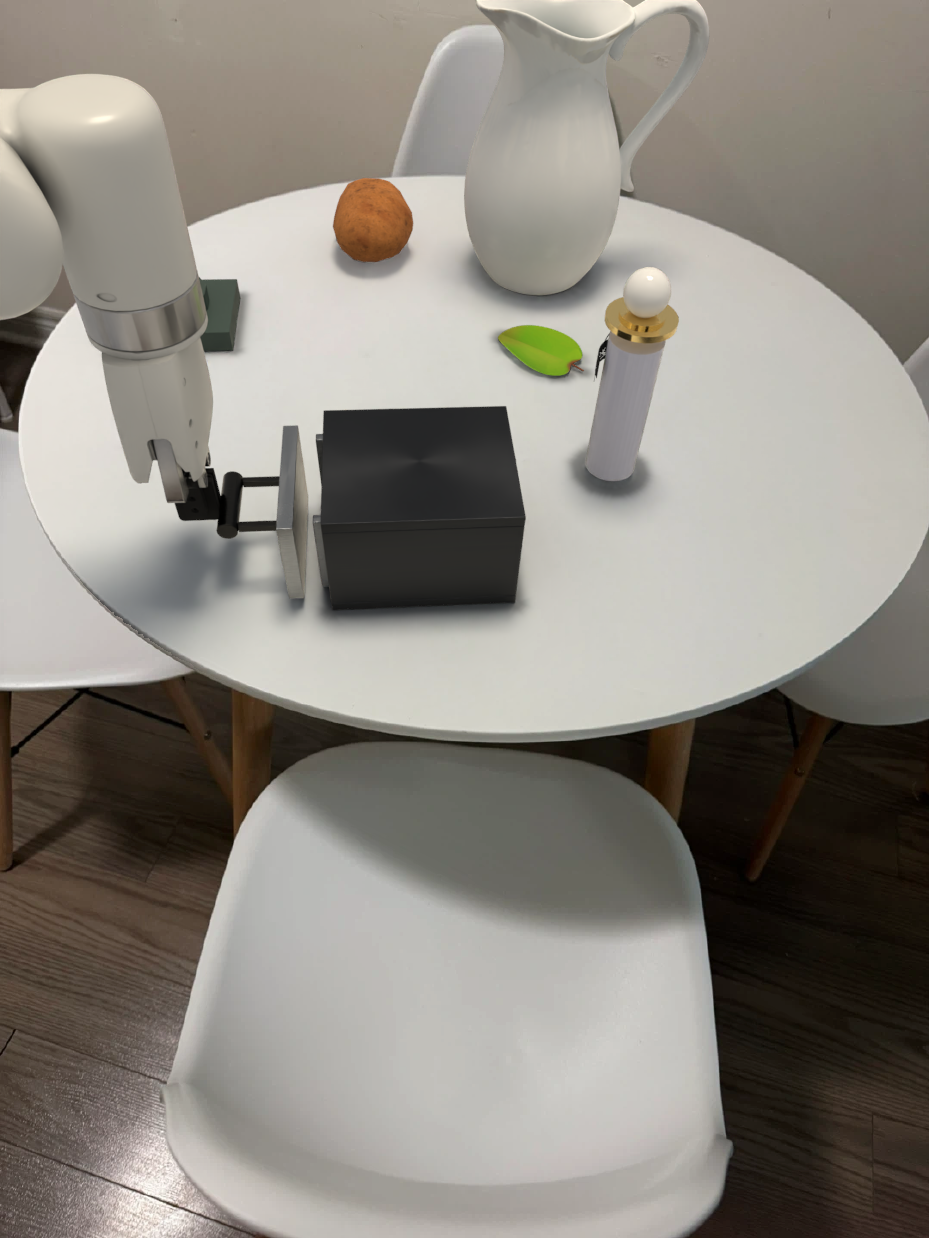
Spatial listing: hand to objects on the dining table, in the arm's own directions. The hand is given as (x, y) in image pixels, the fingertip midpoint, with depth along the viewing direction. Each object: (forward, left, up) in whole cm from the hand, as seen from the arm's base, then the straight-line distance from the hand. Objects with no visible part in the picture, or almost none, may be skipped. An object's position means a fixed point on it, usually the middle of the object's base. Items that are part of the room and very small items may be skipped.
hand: (201, 512), depth 70 cm
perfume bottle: (+35, +9, -5) cm, 37 cm away
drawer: (+11, 0, -4) cm, 12 cm away
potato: (+14, +48, -5) cm, 50 cm away
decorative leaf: (+31, +27, -5) cm, 42 cm away
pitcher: (+36, +44, -5) cm, 57 cm away
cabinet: (+17, 0, -5) cm, 18 cm away
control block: (-7, +34, -5) cm, 35 cm away
